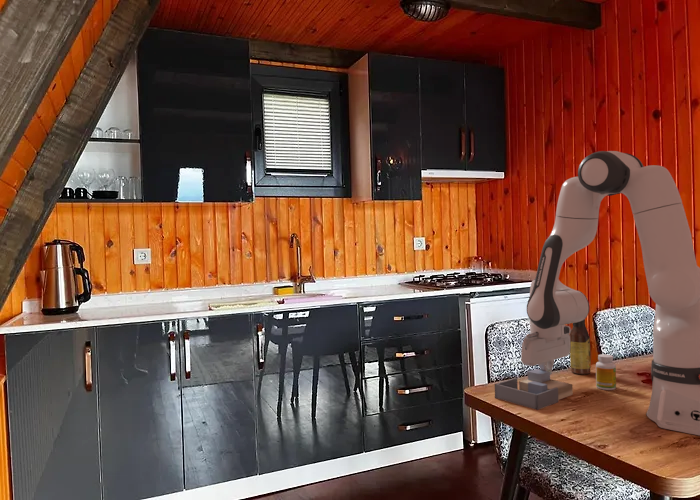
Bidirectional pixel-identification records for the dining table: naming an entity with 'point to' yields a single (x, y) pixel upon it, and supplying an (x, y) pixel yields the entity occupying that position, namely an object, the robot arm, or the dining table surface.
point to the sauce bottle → (580, 349)
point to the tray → (524, 395)
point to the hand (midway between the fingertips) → (546, 375)
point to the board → (551, 387)
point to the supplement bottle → (605, 372)
